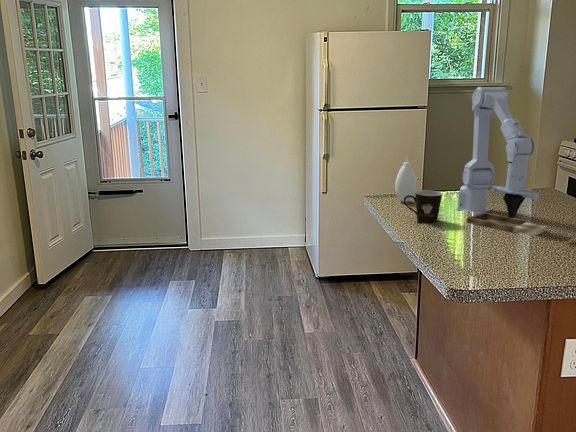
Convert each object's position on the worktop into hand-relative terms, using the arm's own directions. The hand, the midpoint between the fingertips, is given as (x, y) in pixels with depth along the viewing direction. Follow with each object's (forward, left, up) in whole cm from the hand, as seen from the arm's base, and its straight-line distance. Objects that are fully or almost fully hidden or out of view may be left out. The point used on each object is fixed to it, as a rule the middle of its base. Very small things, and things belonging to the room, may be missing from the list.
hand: (511, 217), depth 173 cm
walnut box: (-5, 0, -4) cm, 6 cm away
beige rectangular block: (+6, 0, -4) cm, 8 cm away
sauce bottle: (-45, +6, -4) cm, 46 cm away
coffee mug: (-24, -13, -4) cm, 28 cm away
